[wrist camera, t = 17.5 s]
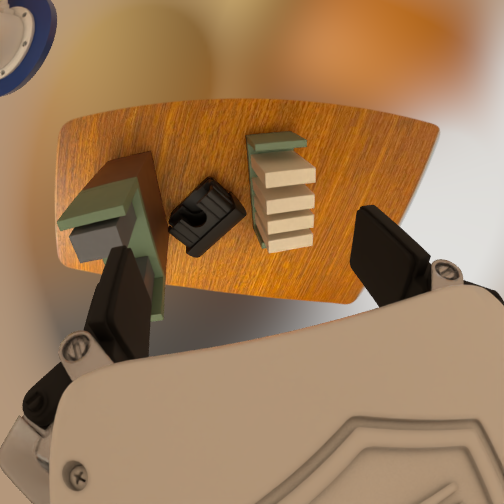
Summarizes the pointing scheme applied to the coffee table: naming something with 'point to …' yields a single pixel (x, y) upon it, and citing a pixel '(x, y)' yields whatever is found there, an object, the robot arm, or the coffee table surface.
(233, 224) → the end cap
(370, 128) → the coffee table surface
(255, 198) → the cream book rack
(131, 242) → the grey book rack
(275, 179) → the cream book
